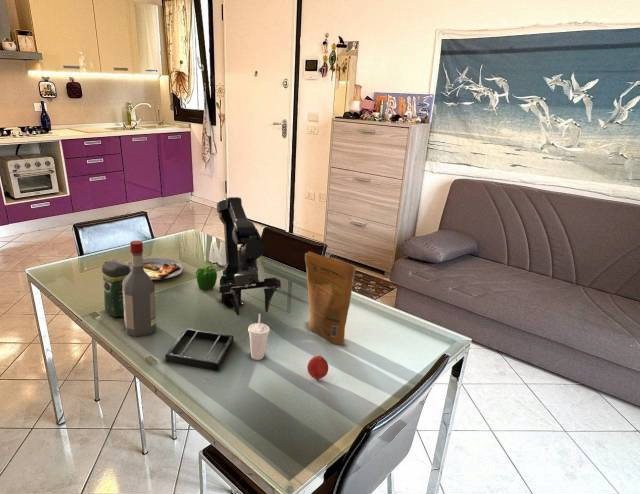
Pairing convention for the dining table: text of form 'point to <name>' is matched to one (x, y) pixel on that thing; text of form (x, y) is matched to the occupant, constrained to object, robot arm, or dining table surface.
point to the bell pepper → (206, 277)
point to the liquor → (138, 296)
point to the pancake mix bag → (328, 295)
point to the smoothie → (258, 339)
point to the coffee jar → (114, 286)
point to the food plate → (160, 268)
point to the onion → (317, 367)
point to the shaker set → (218, 254)
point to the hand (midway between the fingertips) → (252, 313)
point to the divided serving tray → (198, 362)
